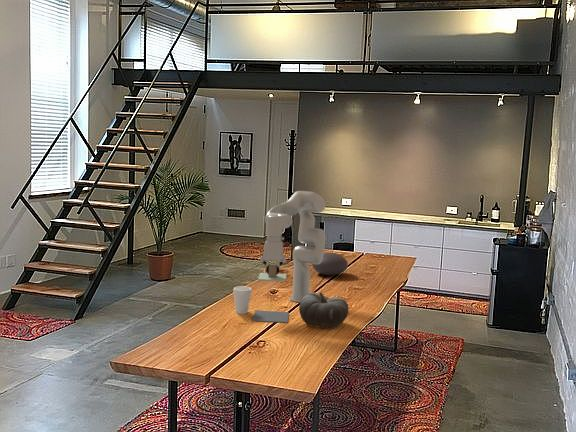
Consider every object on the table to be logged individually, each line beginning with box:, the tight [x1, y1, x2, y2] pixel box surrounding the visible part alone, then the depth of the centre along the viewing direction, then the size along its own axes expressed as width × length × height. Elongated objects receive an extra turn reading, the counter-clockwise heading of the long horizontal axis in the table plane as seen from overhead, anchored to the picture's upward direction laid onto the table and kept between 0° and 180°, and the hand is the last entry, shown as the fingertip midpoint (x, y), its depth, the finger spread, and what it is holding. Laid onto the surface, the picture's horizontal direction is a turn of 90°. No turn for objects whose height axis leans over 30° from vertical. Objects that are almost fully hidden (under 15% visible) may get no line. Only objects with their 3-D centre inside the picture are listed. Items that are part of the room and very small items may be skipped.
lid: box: [257, 263, 287, 283], centre depth 328 cm, size 14×14×7 cm
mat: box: [251, 310, 290, 324], centre depth 331 cm, size 18×18×1 cm
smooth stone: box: [311, 252, 349, 276], centre depth 434 cm, size 25×25×15 cm
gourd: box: [298, 291, 349, 329], centre depth 322 cm, size 25×25×17 cm
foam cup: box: [232, 285, 252, 315], centre depth 337 cm, size 10×9×13 cm
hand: (272, 273), depth 328 cm, fingers closed on lid, 4 cm apart
